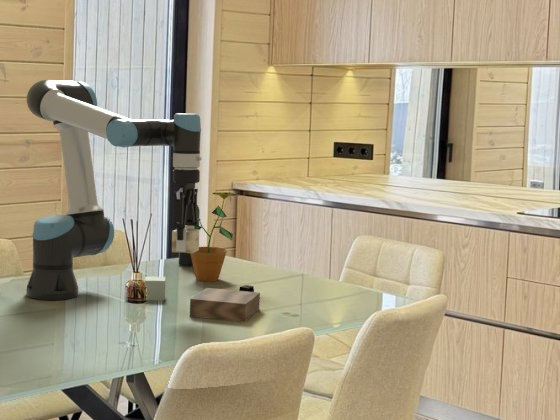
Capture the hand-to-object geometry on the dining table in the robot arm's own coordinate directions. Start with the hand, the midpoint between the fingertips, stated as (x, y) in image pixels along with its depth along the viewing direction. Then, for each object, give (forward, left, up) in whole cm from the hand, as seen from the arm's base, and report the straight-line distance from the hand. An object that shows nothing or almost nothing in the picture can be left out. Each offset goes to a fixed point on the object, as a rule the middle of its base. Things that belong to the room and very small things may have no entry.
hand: (185, 249), depth 273 cm
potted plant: (-7, +46, -18) cm, 50 cm away
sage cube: (-13, +12, -18) cm, 25 cm away
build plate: (+13, +22, -18) cm, 31 cm away
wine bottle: (-21, +68, -18) cm, 73 cm away
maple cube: (0, 0, 0) cm, 0 cm away
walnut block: (+12, +2, -18) cm, 21 cm away
